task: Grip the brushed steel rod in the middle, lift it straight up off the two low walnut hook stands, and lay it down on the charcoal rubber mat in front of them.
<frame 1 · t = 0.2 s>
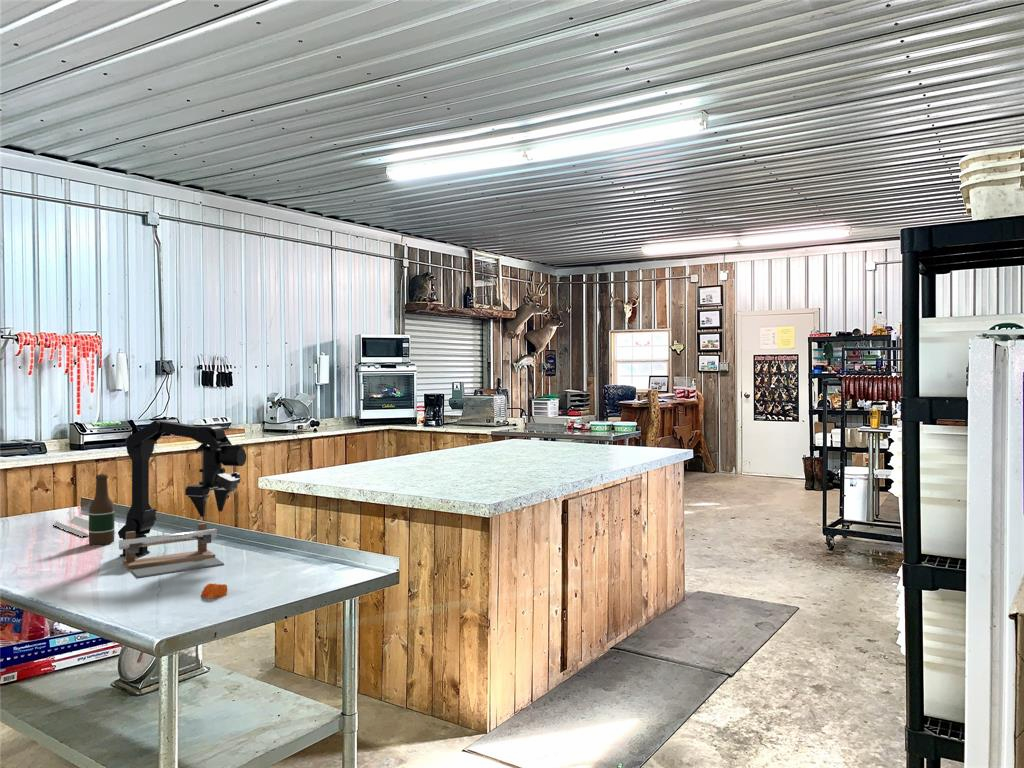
hand: (211, 514, 229), 14 cm above the table, tool pointing down, fingers open, 9 cm apart
rubber mat: (178, 568, 216), on the table
beer bottle: (101, 544, 249), on the table
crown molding: (84, 531, 273), on the table
hook stand: (169, 560, 225), on the table
steel rail: (169, 543, 225), point 6 cm above the table, touching hook stand
rock: (214, 598, 189), on the table
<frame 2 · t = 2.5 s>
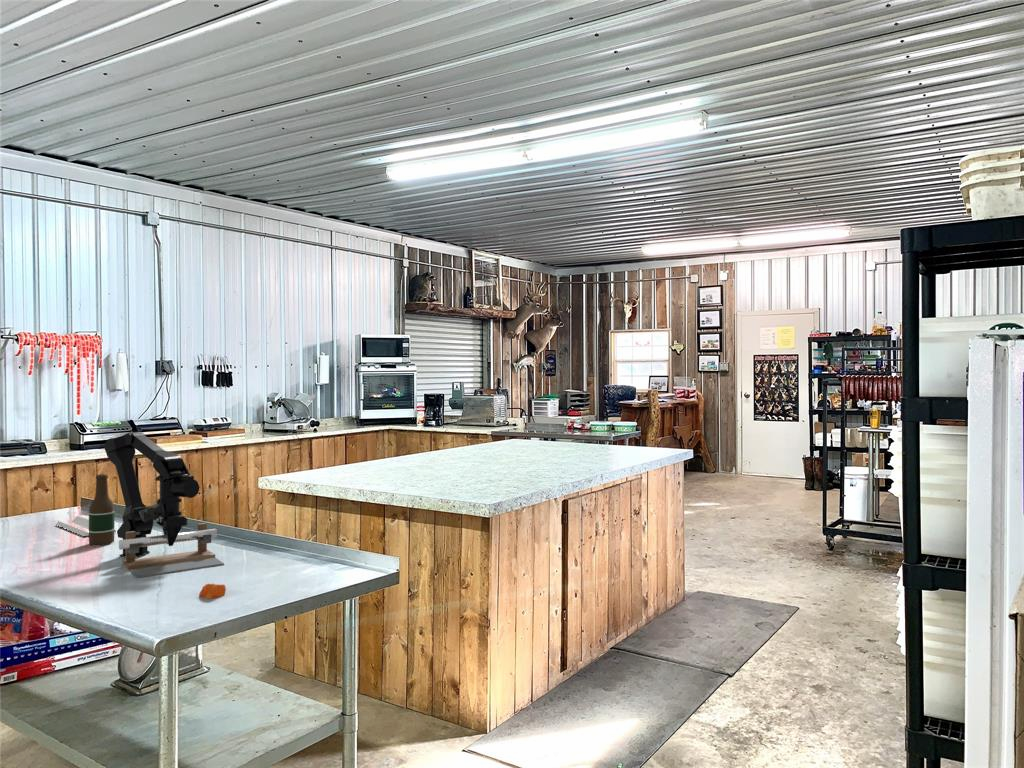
hand: (169, 545, 225), 5 cm above the table, tool pointing down, fingers closed on steel rail, 3 cm apart
steel rail: (169, 543, 225), point 6 cm above the table, touching gripper, hook stand
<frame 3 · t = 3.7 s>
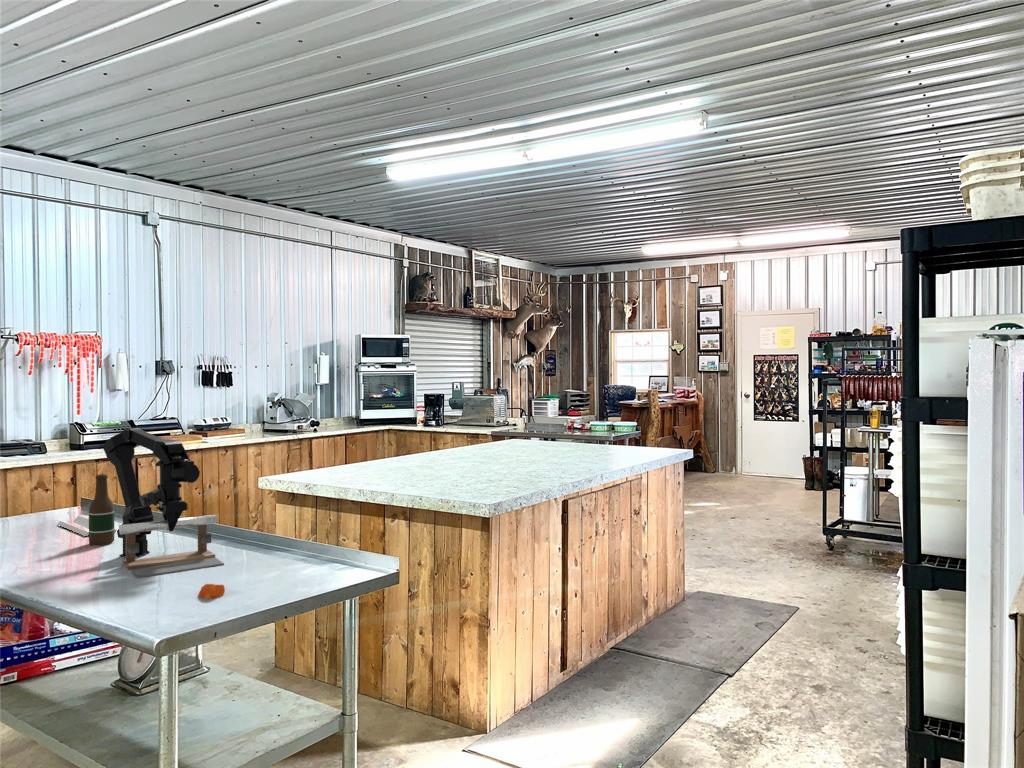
hand: (169, 530, 225), 10 cm above the table, tool pointing down, fingers closed on steel rail, 3 cm apart
steel rail: (169, 528, 225), point 10 cm above the table, touching gripper
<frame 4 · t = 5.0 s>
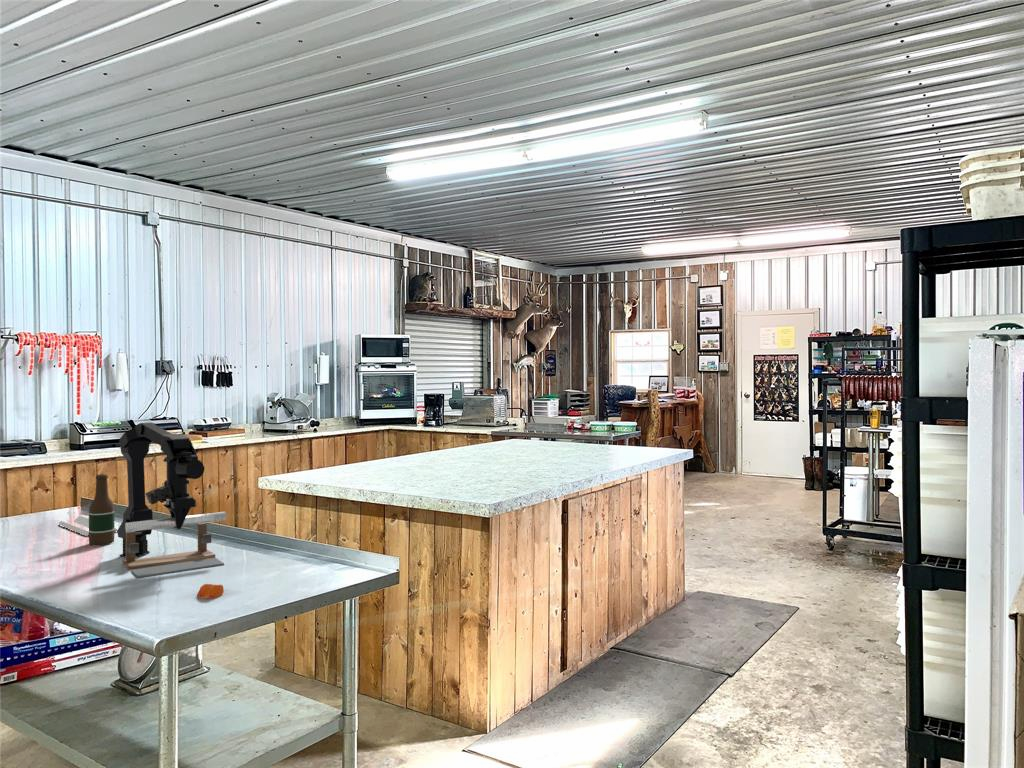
hand: (177, 528, 218), 12 cm above the table, tool pointing down, fingers closed on steel rail, 3 cm apart
steel rail: (177, 526, 218), point 12 cm above the table, touching gripper
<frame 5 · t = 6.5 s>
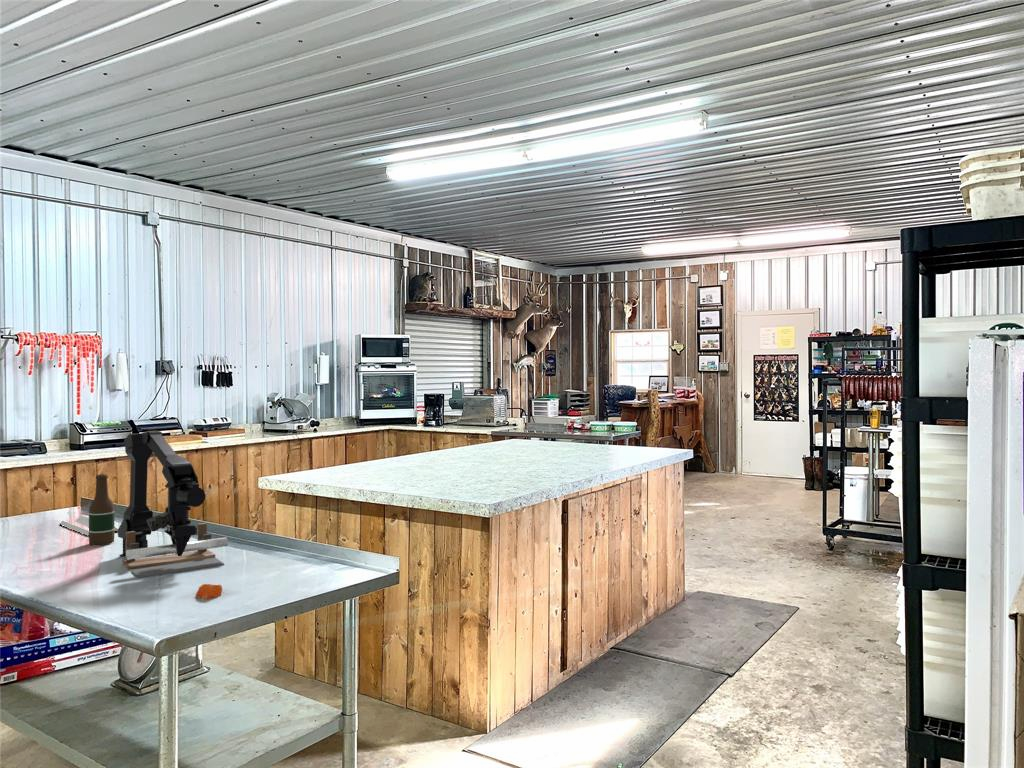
hand: (178, 554, 216), 4 cm above the table, tool pointing down, fingers closed on steel rail, 3 cm apart
steel rail: (178, 552, 216), point 5 cm above the table, touching gripper
when the fingers open (2 cm above the table, at t = 7.6 s): steel rail drops 2 cm, resting on rubber mat.
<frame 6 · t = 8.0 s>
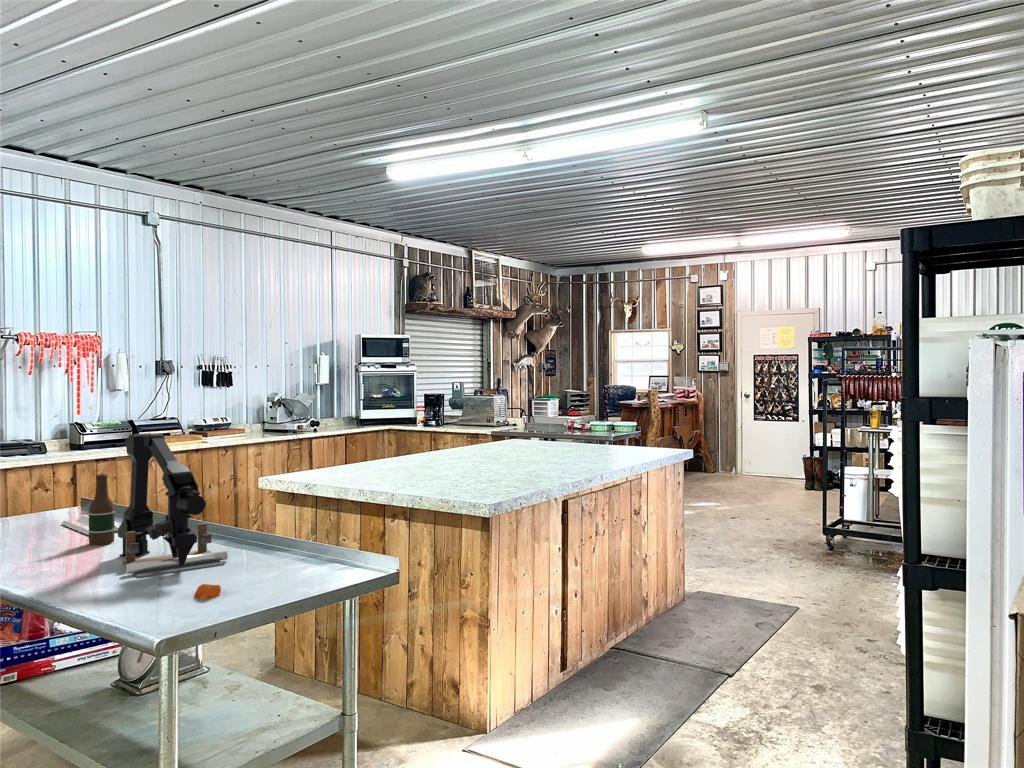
hand: (178, 562, 216), 2 cm above the table, tool pointing down, fingers open, 7 cm apart
steel rail: (178, 566, 216), resting on rubber mat
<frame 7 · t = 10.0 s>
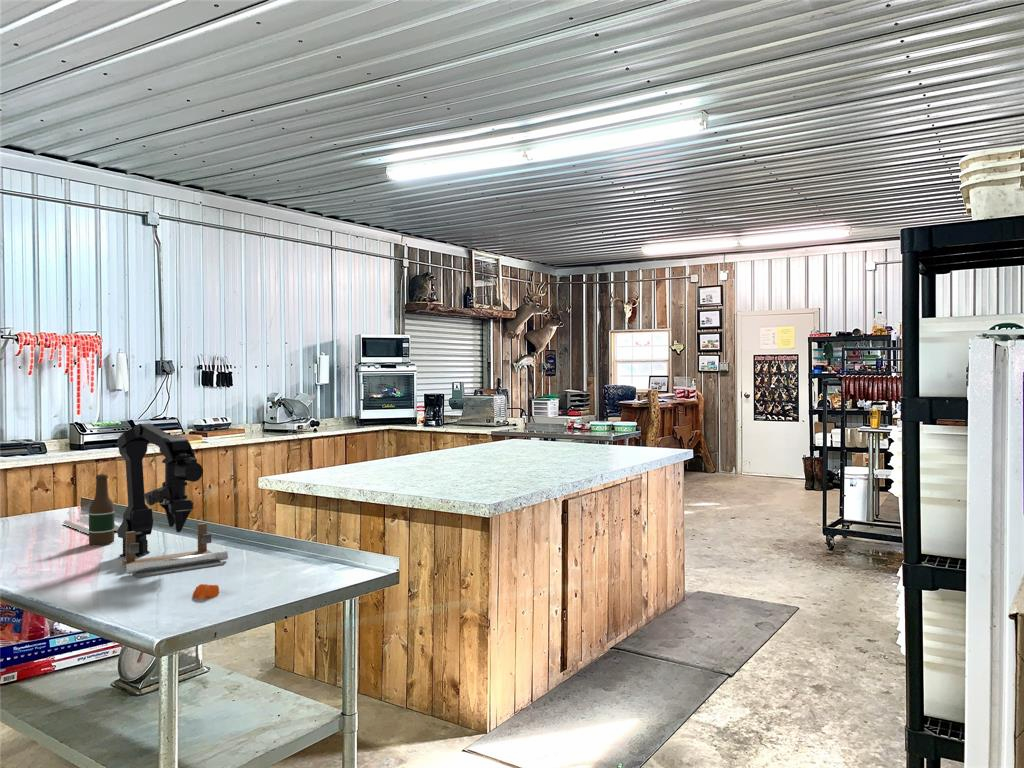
hand: (174, 529, 219), 11 cm above the table, tool pointing down, fingers open, 9 cm apart
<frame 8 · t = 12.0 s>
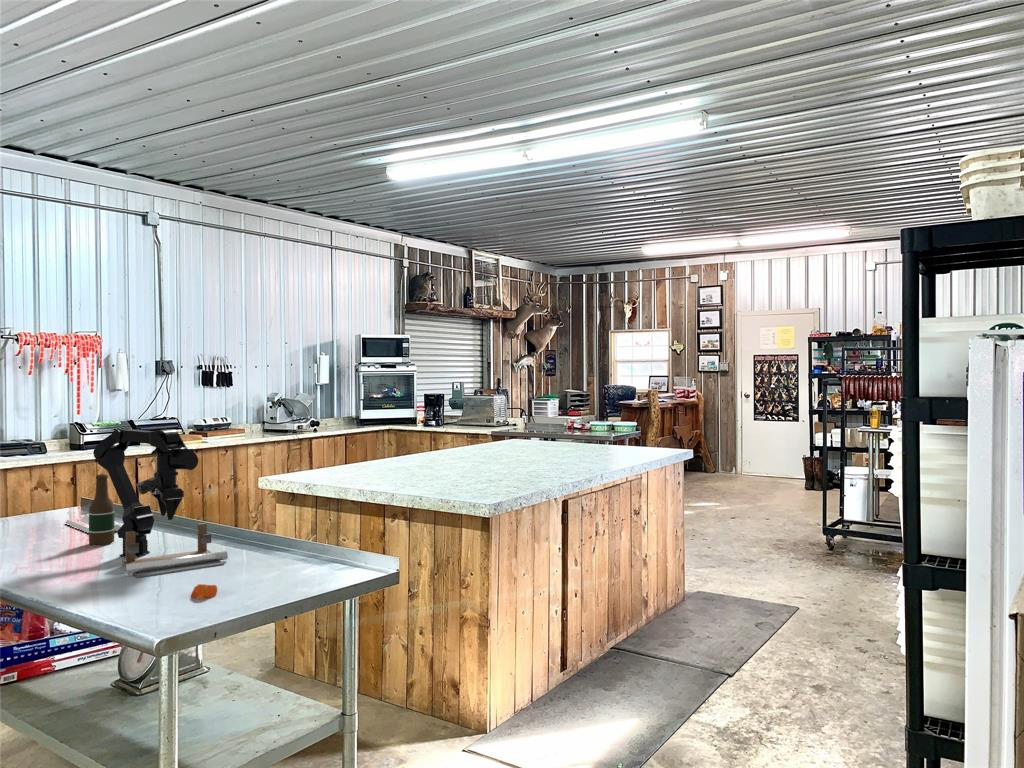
hand: (166, 517, 228), 13 cm above the table, tool pointing down, fingers open, 9 cm apart
at the end: steel rail inside the target area on the rubber mat (0.0 cm from its centre), point 0.5 cm above the rubber mat's base; steel rail touching rubber mat; the gripper is holding nothing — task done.
